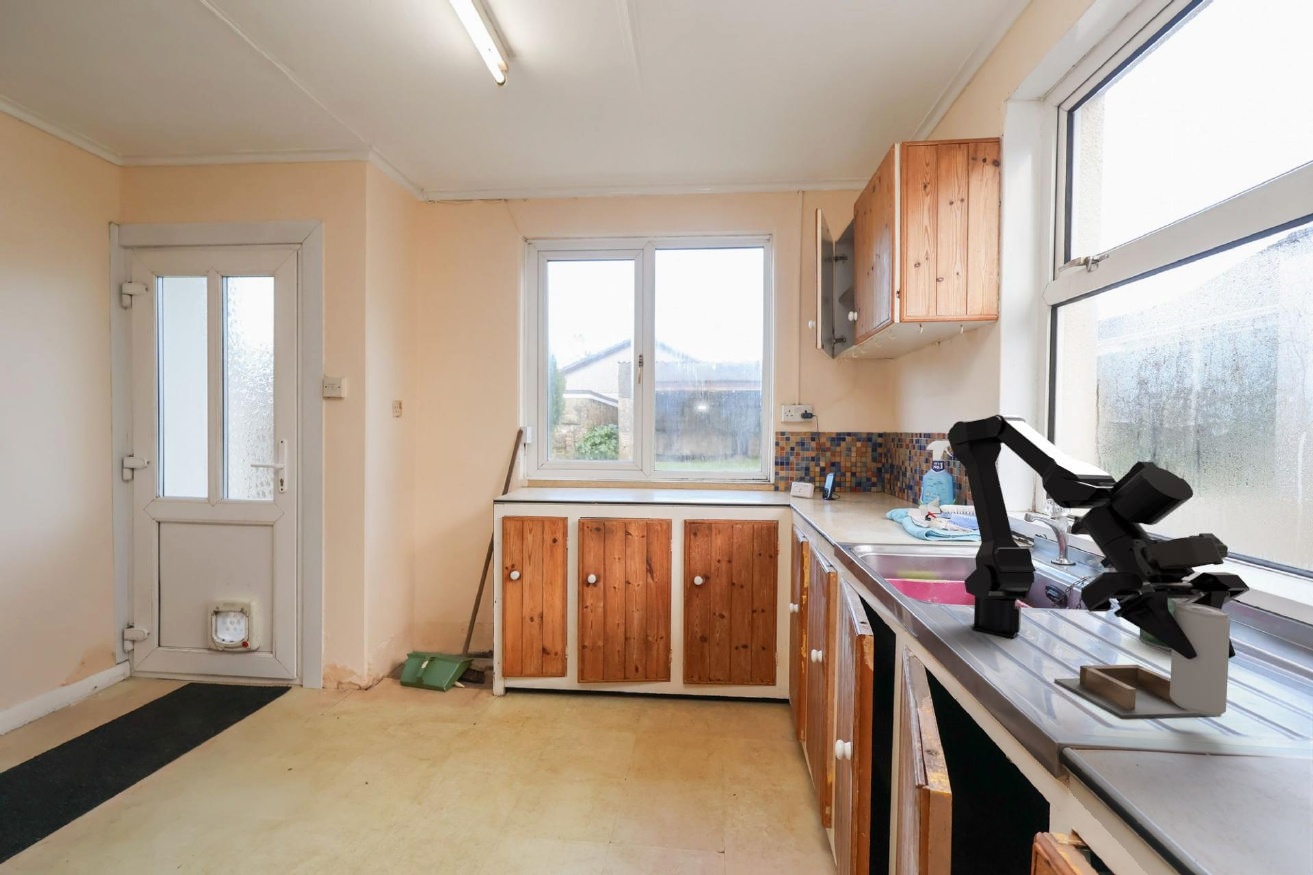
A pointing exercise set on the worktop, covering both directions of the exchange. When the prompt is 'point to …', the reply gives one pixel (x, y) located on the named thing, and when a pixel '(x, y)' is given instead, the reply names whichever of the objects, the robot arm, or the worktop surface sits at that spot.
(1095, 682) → the keeper
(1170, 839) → the worktop surface
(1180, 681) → the beverage can
